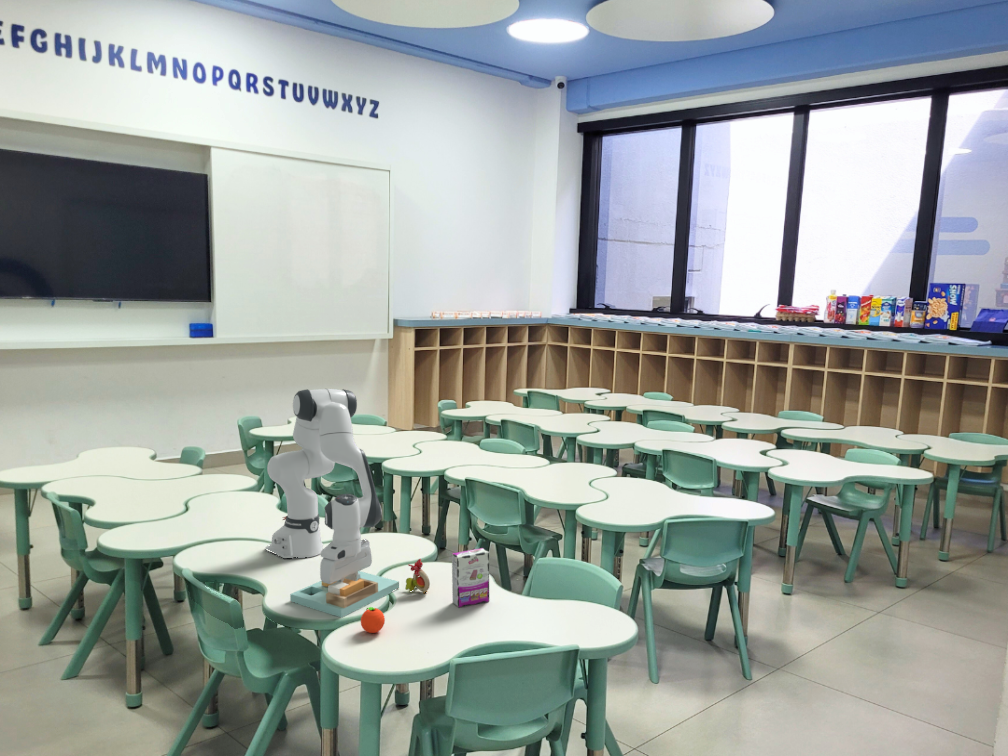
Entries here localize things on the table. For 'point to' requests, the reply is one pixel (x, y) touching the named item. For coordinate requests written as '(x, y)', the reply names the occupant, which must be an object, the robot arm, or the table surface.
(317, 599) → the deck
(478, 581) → the candy bar box
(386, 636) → the table surface
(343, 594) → the rake
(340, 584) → the cube
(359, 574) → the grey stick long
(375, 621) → the clementine
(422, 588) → the bird rattle
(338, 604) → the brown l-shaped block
